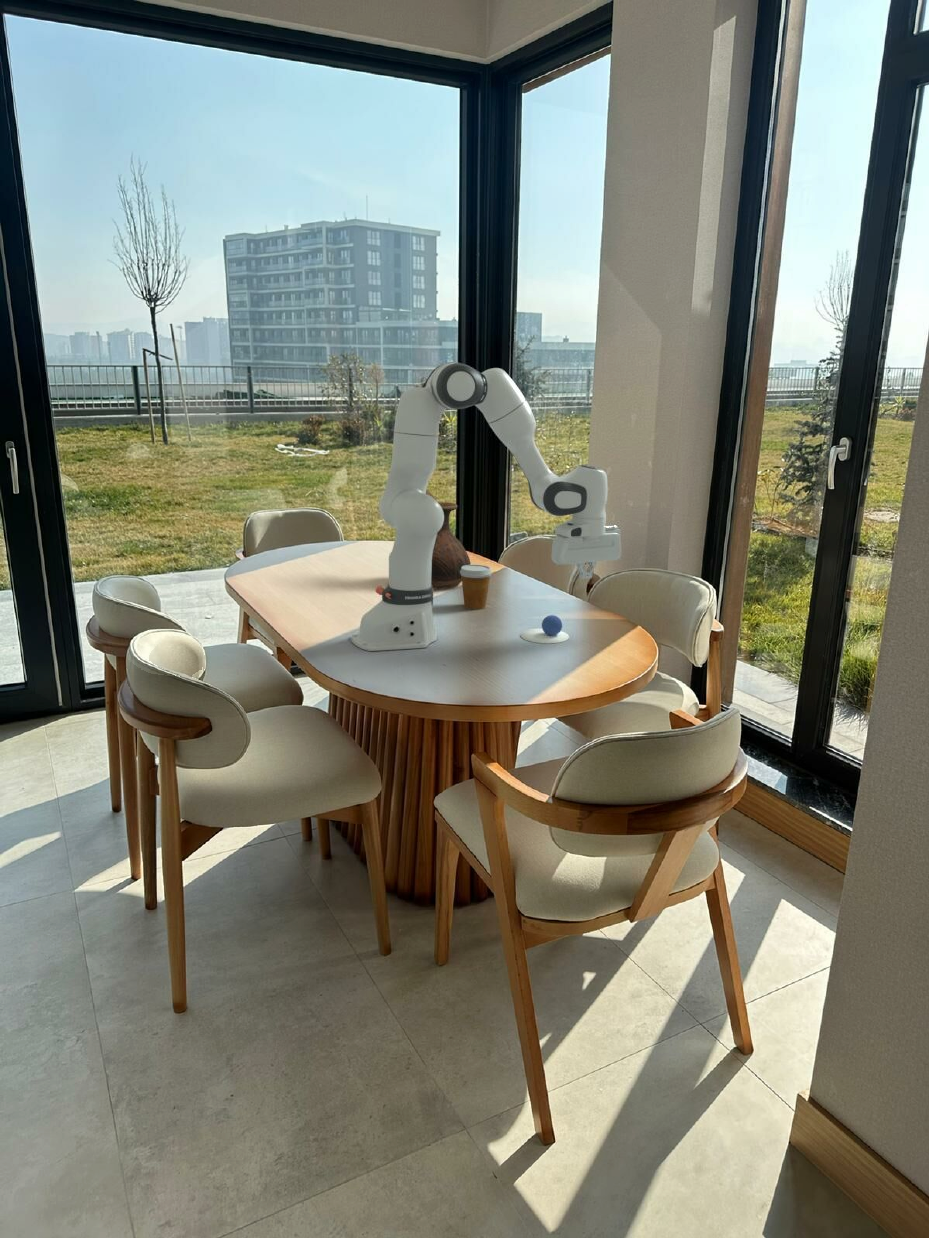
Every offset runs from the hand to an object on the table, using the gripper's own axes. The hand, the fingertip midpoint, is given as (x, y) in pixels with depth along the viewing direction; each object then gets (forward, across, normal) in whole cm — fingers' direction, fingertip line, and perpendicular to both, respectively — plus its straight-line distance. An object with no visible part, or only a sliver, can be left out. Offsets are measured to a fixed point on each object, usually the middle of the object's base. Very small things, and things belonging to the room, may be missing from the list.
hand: (585, 578), depth 234 cm
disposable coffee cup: (+15, +16, -34) cm, 41 cm away
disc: (+15, +12, 0) cm, 19 cm away
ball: (+12, +10, 0) cm, 16 cm away
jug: (+15, +15, -64) cm, 67 cm away
